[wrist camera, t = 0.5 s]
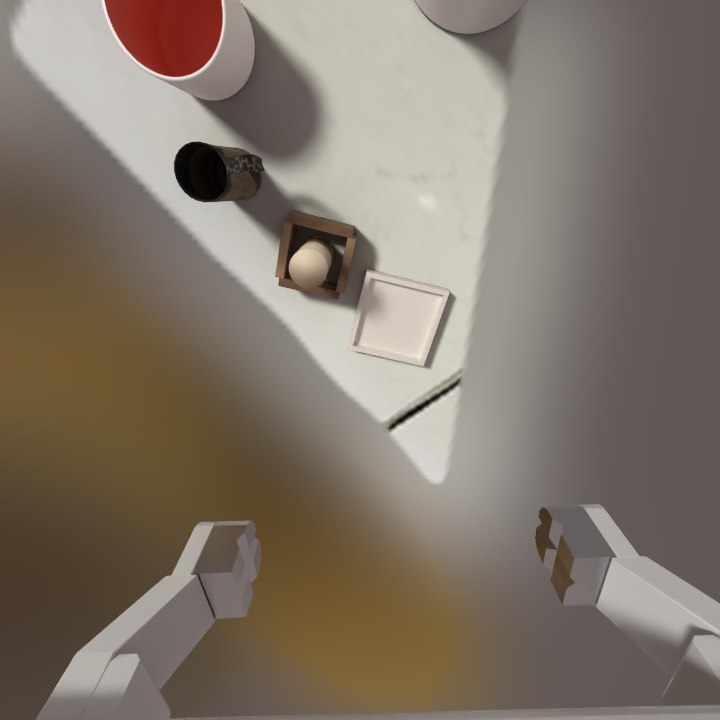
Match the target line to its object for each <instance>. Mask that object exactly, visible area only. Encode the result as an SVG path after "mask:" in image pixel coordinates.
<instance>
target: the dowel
mask: <svg viewBox="0 0 720 720" xmlns="http://www.w3.org/2000/svg"><path fill="white" fill-rule="evenodd" d="M333 257H334V249H333V246H332V244H331V243H330V242H329V241H328V240H327V239H326V238H323V237H319V236H317V237H312V238H310V239H309V240H308V241H307V242H306V243H305V244H304V245H303V246H302V247H301V248H300V249H299V250H298V251H297V252H296V253H295V254H294V256H293V257H292V258H291V260H290V263H289V273H290V276H291V278H292V279H293V281H294V282H295V283H296V284H298V285H299V286H301V287H304V288H315V287H317V286H319V285H320V284H322V283H323V281H324V280H325V278H326V276H327V273H328V271H329V268H330V266H331V263H332V260H333Z"/></svg>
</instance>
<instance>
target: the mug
mask: <svg viewBox="0 0 720 720" xmlns="http://www.w3.org/2000/svg"><path fill="white" fill-rule="evenodd" d="M261 171H264V167H263V165H262V158H260V157H258V156H256V155H253V154H250V153H249V152H247V151H245V150H243V149H239V148H232V147H222V146H215V145H210V144H207V143H202V142H190V143H188V144H185V145H184V146H183V147H182V148H181V149H180V150H179V151H178V153H177V155H176V158H175V161H174V172H175V176H176V179H177V181H178V183H179V185H180V187H181V188H182V189H183V191H184V192H185V193H186V194H187V195H189V196H190V197H191V198H193V199H195V200H197V201H201V202H220V201H234V200H245V199H248V198H251V197H252V196H253V195H255V194H256V192H257V191H258V190H259V187H260V184H261Z"/></svg>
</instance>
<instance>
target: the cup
mask: <svg viewBox="0 0 720 720" xmlns="http://www.w3.org/2000/svg"><path fill="white" fill-rule="evenodd" d="M102 5H103V9H104V12H105V16H106V19H107V21H108V24H109V26H110V29H111V31H112V33H113V35H114V37H115V38H116V40H117V42H118V43H119V45H120V46H121V48H122V49H123V50H124V52H125V53H126V54H127V55H128V56H129V58H130V59H131V60H132V61H133V62H134V63H135V64H137V65H138V66H139V67H140V68H141V69H143V70H144V71H146V72H147V73H149V74H151V75H153V76H155V77H157V78H159V79H161V80H163V81H165V82H167V83H169V84H171V85H173V86H175V87H177V88H179V89H181V90H183V91H185V92H187V93H189V94H191V95H193V96H195V97H197V98H201V99H204V100H212V101H215V100H223V99H226V98H228V97H230V96H232V95H234V94H235V93H237V92H238V91H239V90H240V89H241V88H242V87H243V86H244V84H245V83H246V81H247V80H248V78H249V75H250V73H251V70H252V67H253V63H254V56H255V43H254V35H253V30H252V26H251V23H250V20H249V18H248V15H247V13H246V11H245V9H244V7H243V6H242V4H241V2H240V1H239V0H102Z"/></svg>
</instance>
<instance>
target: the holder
mask: <svg viewBox="0 0 720 720" xmlns="http://www.w3.org/2000/svg"><path fill="white" fill-rule="evenodd" d="M297 225H300V226H304V227H308V228H312V229H316V230H320V231H324V232H328V233H331V234H335V235H339V236H343V237H347V243H346V247H345V252H344V257H343V261H342V266H341V270H340V275H339V279H338V283H335V282H331V281H327V280H324V281H323V283H322V284H320V285H319V286H317V287H315V288H304V287H301V286H299V285H298V284H296V283H295V282H294V281H293V279H292V278H291V276H290V273H289V263H290V260H291V258H292V252H293V246H294V240H295V233H296V227H297ZM354 227H355V226H353V225H349V224H345V223H341V222H337V221H333V220H329V219H325V218H321V217H318V216H314V215H310V214H306V213H302V212H298V211H293V212H291V213H289V217H288V219H287V220H285V221H283V227H282V234H281V241H280V248H279V255H278V262H277V269H276V276H275V277H279V284H278V286H282V287H286V288H291V289H295V290H299V291H303V292H307V293H312V294H316V295H320V296H324V297H328V298H333V299H337V300H338V298H339V294H340V292H341V293H344V290H345V286H346V281H347V277H348V273H349V268H350V264H351V260H352V255H353V251H354V247H355V242H356V236H357V235H354V234H353V231H354Z"/></svg>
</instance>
